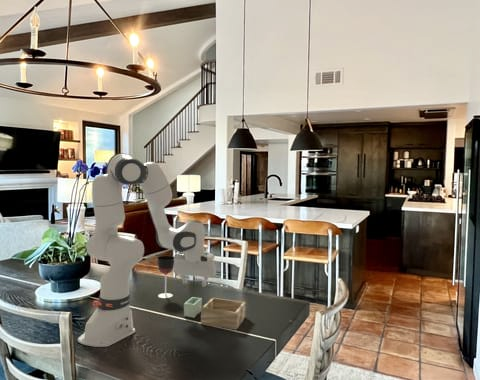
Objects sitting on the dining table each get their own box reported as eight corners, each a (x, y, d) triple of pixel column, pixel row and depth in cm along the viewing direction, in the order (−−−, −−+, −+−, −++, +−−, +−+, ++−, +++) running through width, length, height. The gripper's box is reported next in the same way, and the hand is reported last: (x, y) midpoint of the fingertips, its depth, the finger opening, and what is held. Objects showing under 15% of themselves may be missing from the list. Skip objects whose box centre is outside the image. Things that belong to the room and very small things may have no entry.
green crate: (194, 317, 167) (194, 304, 167) (183, 316, 168) (184, 303, 168) (201, 310, 176) (202, 298, 175) (191, 309, 177) (192, 296, 177)
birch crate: (236, 329, 156) (236, 313, 155) (200, 324, 160) (201, 308, 160) (245, 317, 169) (245, 301, 169) (212, 312, 173) (212, 297, 173)
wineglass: (172, 298, 191) (172, 259, 190) (155, 297, 191) (155, 259, 190) (175, 293, 199) (175, 256, 197) (159, 292, 199) (159, 255, 198)
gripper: (170, 254, 170) (170, 284, 171) (212, 258, 164) (212, 289, 166) (177, 251, 176) (176, 280, 177) (217, 255, 171) (217, 285, 172)
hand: (194, 284), depth 171 cm, fingers open, 8 cm apart
